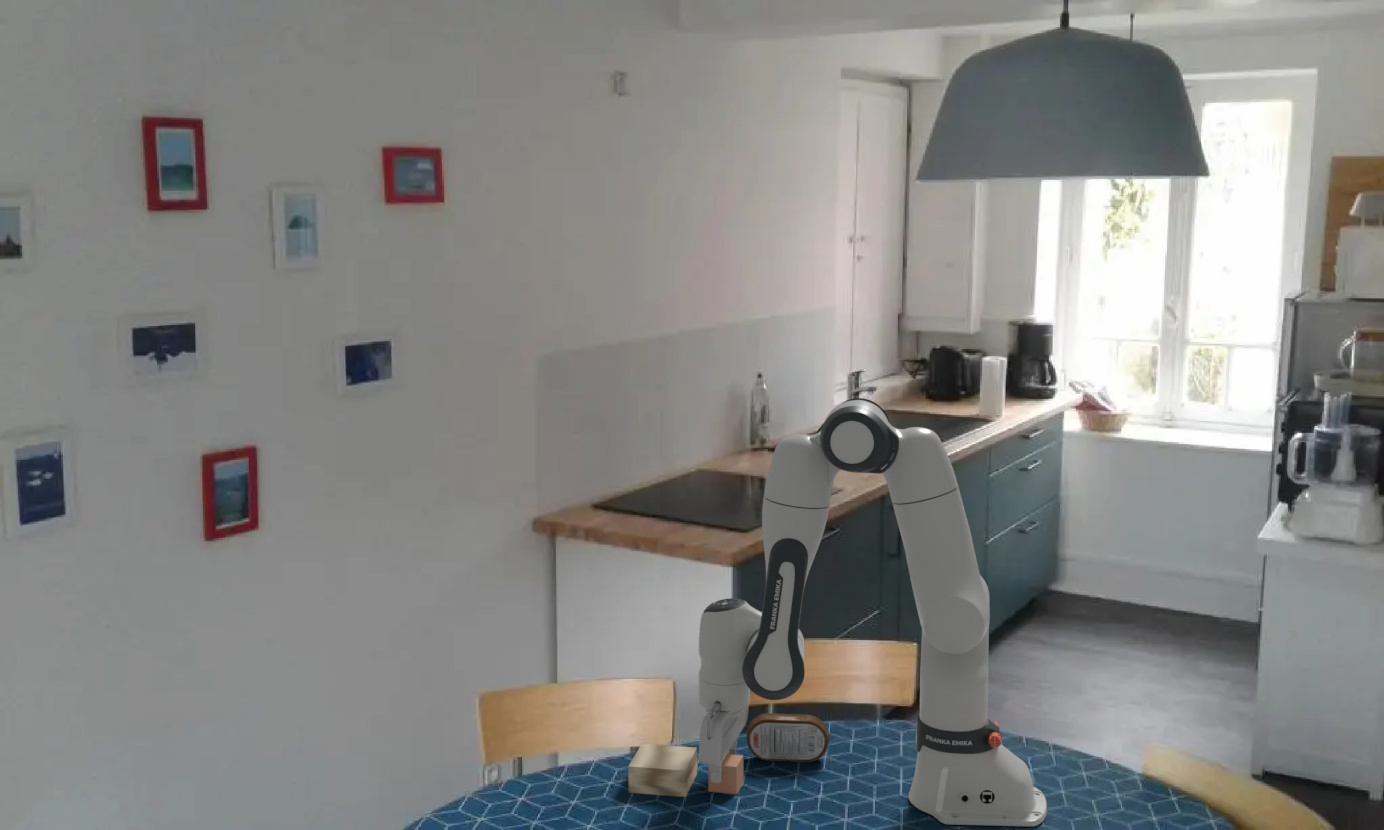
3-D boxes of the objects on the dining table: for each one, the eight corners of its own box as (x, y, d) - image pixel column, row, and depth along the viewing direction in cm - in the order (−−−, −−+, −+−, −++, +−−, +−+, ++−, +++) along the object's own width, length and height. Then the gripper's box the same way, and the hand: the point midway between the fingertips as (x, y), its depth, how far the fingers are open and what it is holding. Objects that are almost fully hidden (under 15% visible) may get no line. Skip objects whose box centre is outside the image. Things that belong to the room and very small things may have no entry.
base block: (697, 774, 225) (696, 747, 224) (685, 798, 215) (685, 770, 214) (642, 770, 227) (641, 743, 226) (628, 794, 217) (628, 766, 216)
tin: (829, 757, 231) (829, 713, 230) (829, 764, 228) (829, 720, 227) (746, 755, 232) (746, 711, 231) (745, 762, 229) (745, 717, 228)
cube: (743, 782, 221) (743, 755, 220) (736, 794, 216) (736, 767, 215) (715, 779, 222) (715, 752, 221) (708, 791, 217) (708, 764, 216)
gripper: (727, 716, 206) (726, 797, 208) (755, 675, 225) (754, 749, 227) (689, 712, 208) (689, 792, 210) (720, 672, 227) (720, 745, 229)
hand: (723, 769), depth 219 cm, fingers open, 8 cm apart
